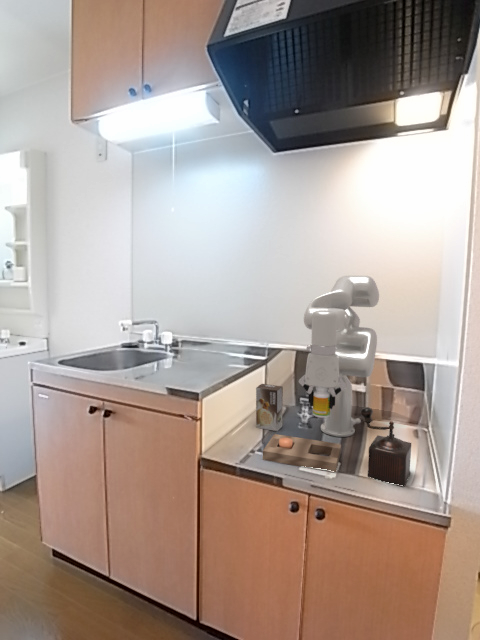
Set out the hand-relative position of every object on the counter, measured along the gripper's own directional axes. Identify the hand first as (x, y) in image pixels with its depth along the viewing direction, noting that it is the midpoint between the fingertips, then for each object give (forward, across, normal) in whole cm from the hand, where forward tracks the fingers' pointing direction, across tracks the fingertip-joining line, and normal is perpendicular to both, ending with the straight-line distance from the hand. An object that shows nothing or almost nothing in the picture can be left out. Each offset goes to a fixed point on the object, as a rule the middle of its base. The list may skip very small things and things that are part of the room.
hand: (321, 405), depth 121 cm
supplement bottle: (+3, 0, 0) cm, 3 cm away
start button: (+16, -11, 0) cm, 20 cm away
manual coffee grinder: (+18, +18, -1) cm, 26 cm away
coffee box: (+18, -23, +20) cm, 35 cm away
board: (+18, -6, 0) cm, 19 cm away
